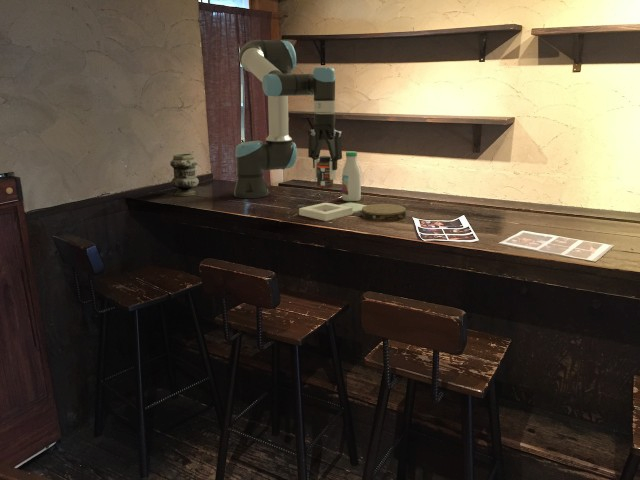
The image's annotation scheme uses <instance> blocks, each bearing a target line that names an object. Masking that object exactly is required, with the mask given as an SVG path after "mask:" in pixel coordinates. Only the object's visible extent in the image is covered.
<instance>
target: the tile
mask: <svg viewBox="0 0 640 480" xmlns="http://www.w3.org/2000/svg"><path fill="white" fill-rule="evenodd" d="M340 205H341V206H347V207H352V208H353V214H355V213H359V212H362V208H363V207H364V206H367V205H365V204H362V203H357V202H352V201H349V202H346V203H341V204H340Z"/></svg>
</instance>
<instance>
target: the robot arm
mask: <svg viewBox="0 0 640 480" xmlns="http://www.w3.org/2000/svg"><path fill="white" fill-rule="evenodd" d="M238 59H239V63H240V66H241V67H242V68H243V69H244V70H245V71H247V72H248V73H252V74H253V76H255V77H256V78H257V79H258V80H259V82H261V86H262V91H263V93H264V95H265V96H267V103H268V104H267V107H268V110H267V111H268V135H267V137H266V138H265V143H263V141H261V140H252V141H245V142H241V143H238V144H237V145H236V147H235V155H234V156H235V160H236V161H235V165H236V177H237V179H236V182H235V186H234V189H233V195H234V197H235V198H238V199H258V198H264V197H267V196H268V195H269V188H268V185H267V182H266V180H265V175H264V171H271V170H272V171H274V170H285V169H286V170H287V169H291V168H293V167H294V165H295V164H296V161H297V156H298V148H297V145H296V143H295V142H293V138H292V137H291V136H290V135H289V96H290V97H293V96H294V97H296V96H297V97H298V96H301V97H302V96H304V97H305V96H313V112H314V114H313V124H314V128H313V129H309V130H307V135H308V151H307V152H308V154H307V156H308V158H310V159H311V160H312V168H313V169H314V178H315V179H317V163H318V162H319V161H320V153H321V151H322V146H323V142H324V141H325V143H326V144H327V148H328V152H329V156H330V157H331V160H330V180H332V179H333V180H335V179H336V177H337V175H336V170H337V171H338V161H340V160H342V159H343V151H342V150H343V145H342V135H343V131H342V130H336V128H335V125H336V114H335V112H336V73H335V72H336V71H335V70H336V69H334V68H333V66H332V67H329V66H327V67H326V66H324V67H314V68H313V73H292V71H293V70H294V69H296V67H297V65H296V64H297V54H296V50H295V48H294V46H293V44H292V43H291V42H290V41H289V40H283V39H282V40H281V39H278V40H275V39H272V40H270V39H269V40H268V39H267V40H266V39H255V40H251V41H248V42H247V43H245V44H244V45H243V46H242V47H241V49H240V50H239V54H238Z"/></svg>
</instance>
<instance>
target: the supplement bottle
mask: <svg viewBox="0 0 640 480" xmlns="http://www.w3.org/2000/svg"><path fill="white" fill-rule="evenodd" d="M319 159H320V161H319V162H318V163H317V178H316V183H317V184H316V187H317V188H318V189H331V188H333V187H334V180H335V179H332V180H330V160H331V156H330V155H321V156H320V155H319Z"/></svg>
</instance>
